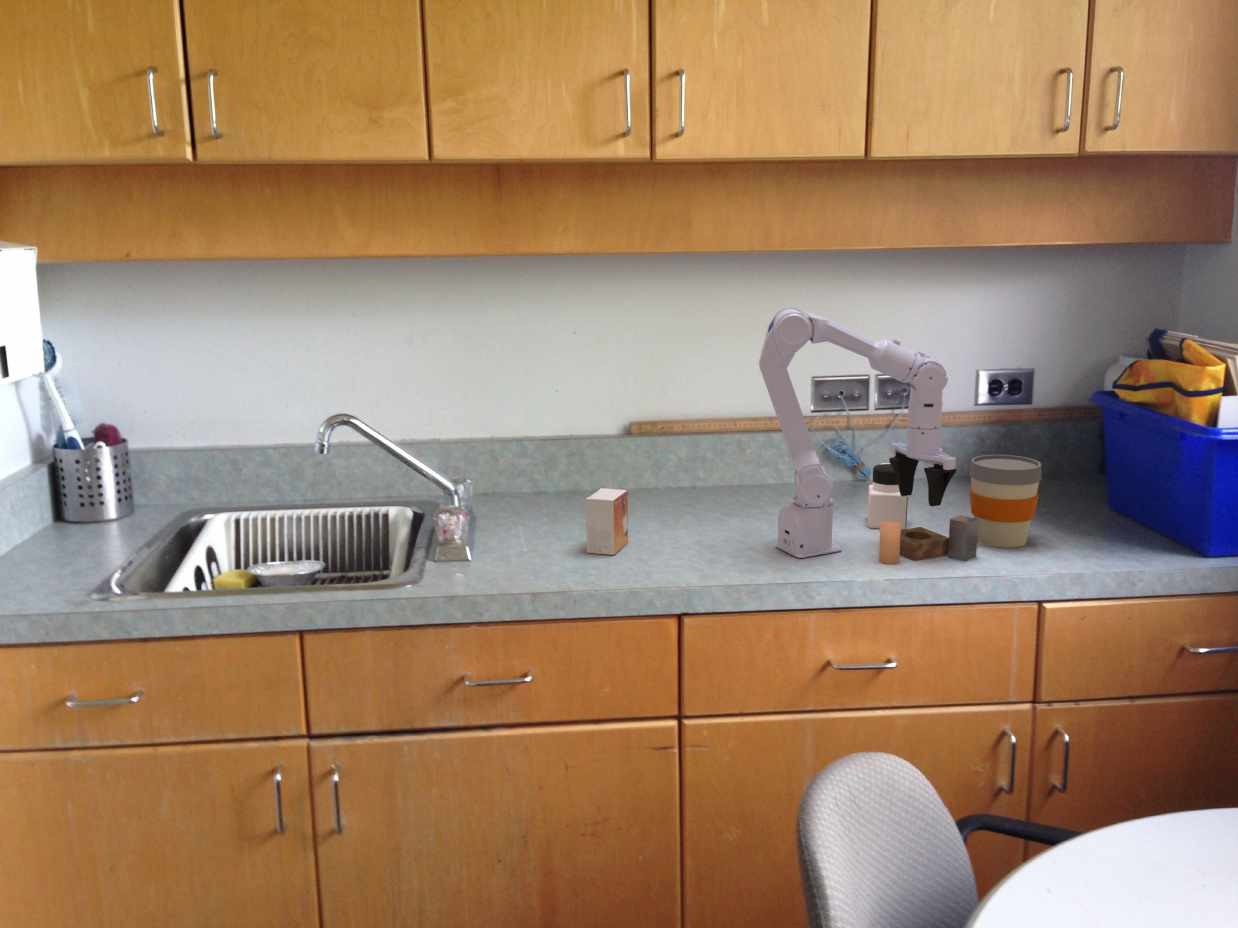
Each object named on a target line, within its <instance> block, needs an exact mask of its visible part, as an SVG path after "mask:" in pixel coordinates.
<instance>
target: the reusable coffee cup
mask: <svg viewBox="0 0 1238 928" xmlns="http://www.w3.org/2000/svg"><path fill="white" fill-rule="evenodd" d="M968 476H969V477H970V480H971V487H970V488H969V499H970V501H969V502H970V513H971V514H972V515H973V518H976V519H979V522H978V537H977V543H980V544H982V545H985V546H988V547H989V546H990V547H997V548H1008V549H1009V548H1018V547H1022V546H1024V545H1026V544H1027V539H1028V534H1029V529H1030V525H1031V521H1032V520H1033V519H1034V517H1035V515H1036V514H1035V513H1036V510H1037V509H1036V508H1037V503H1038V499H1039V496H1040V495H1039V492H1038V489H1039V485H1040V482H1041V481H1042V479H1043V478H1042V463H1041V462H1040V461H1038V460H1036V459H1034V458H1030V457H1026V456H1018V455H1010V454H985V455H978V456H974V457H973V458H971V462H970V466H969V473H968Z"/></svg>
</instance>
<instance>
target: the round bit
mask: <svg viewBox="0 0 1238 928" xmlns="http://www.w3.org/2000/svg"><path fill="white" fill-rule="evenodd" d="M900 534H901V523H900V522H897V521H892V520H886V521H882V522H880V529H879V543H878V544H879V547H878V551H879V552H878V562H879V563H881V564H883V565H884V564H885V565H897V564H899V563H900V556H901V555H900Z"/></svg>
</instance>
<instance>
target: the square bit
mask: <svg viewBox="0 0 1238 928" xmlns="http://www.w3.org/2000/svg"><path fill="white" fill-rule="evenodd" d="M978 522H979V519H976V518H974V517H972V516H966V515H962V514H960V515H958V516H954V517H952V518H949V530H948V537H949V543H948V555H947V557H948V558H952V559H956V560H960V561H963V562H967V561H969V560H972V559H974V558H976V557H977V552H978V551H977V549H978V548H977V547H978V541H977V537H978Z"/></svg>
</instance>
